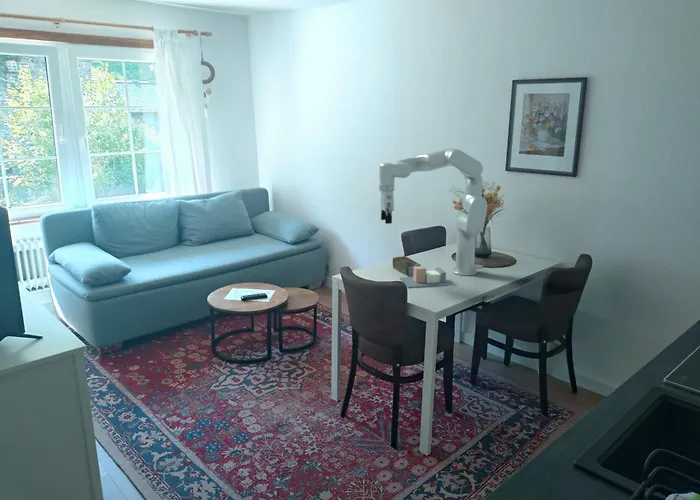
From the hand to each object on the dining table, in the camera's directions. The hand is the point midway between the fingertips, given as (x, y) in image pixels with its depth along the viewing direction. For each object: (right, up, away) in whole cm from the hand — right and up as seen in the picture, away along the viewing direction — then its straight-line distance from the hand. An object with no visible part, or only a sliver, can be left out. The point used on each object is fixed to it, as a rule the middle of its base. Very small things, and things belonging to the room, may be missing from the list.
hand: (386, 221), depth 270 cm
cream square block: (+24, -30, +1) cm, 39 cm away
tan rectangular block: (+17, -31, -1) cm, 35 cm away
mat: (+18, -31, 0) cm, 36 cm away
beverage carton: (+12, -26, +18) cm, 34 cm away
